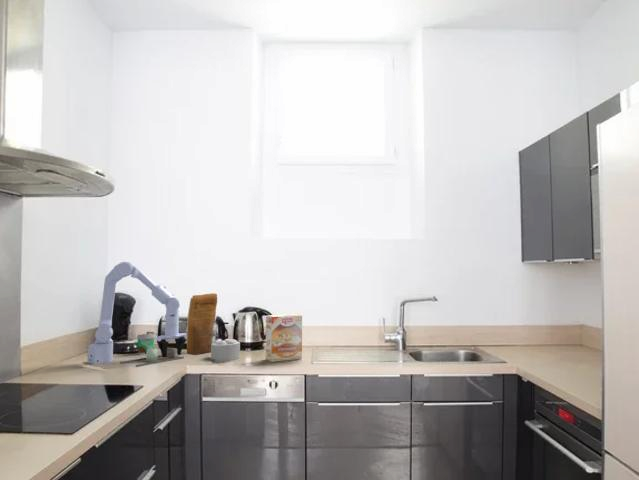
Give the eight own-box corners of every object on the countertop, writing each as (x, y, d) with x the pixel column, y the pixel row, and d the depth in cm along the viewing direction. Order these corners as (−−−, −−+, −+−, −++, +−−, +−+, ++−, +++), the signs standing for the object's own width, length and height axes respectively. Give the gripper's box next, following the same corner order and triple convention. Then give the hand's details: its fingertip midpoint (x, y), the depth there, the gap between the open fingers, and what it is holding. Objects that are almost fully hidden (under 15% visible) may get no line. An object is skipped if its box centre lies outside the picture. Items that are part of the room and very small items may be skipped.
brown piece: (150, 365, 206) (150, 353, 206) (137, 363, 211) (137, 351, 211) (179, 360, 218) (180, 349, 218) (167, 357, 223) (167, 347, 223)
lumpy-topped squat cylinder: (243, 358, 223) (243, 338, 224) (222, 363, 212) (222, 342, 213) (226, 356, 229) (226, 337, 229) (205, 360, 218) (205, 340, 218)
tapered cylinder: (150, 362, 208) (150, 350, 209) (144, 361, 211) (144, 349, 211) (159, 360, 212) (159, 348, 212) (153, 359, 215) (153, 347, 215)
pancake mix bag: (221, 350, 243) (221, 293, 244) (190, 356, 227) (191, 295, 229) (211, 349, 247) (212, 292, 248) (180, 355, 231) (181, 294, 233)
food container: (150, 357, 226) (150, 335, 226) (136, 357, 226) (137, 335, 226) (159, 352, 238) (159, 331, 239) (146, 352, 238) (147, 331, 239)
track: (137, 369, 199) (137, 365, 199) (120, 365, 206) (120, 361, 206) (184, 360, 218) (184, 356, 218) (166, 357, 225) (166, 354, 225)
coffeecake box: (271, 362, 214) (271, 316, 215) (265, 359, 221) (265, 315, 222) (302, 359, 221) (302, 314, 222) (295, 356, 228) (295, 313, 229)
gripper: (163, 326, 212) (163, 359, 211) (191, 323, 224) (190, 354, 223) (153, 325, 216) (153, 357, 216) (180, 322, 228) (180, 352, 227)
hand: (171, 355), depth 220 cm, fingers open, 7 cm apart
